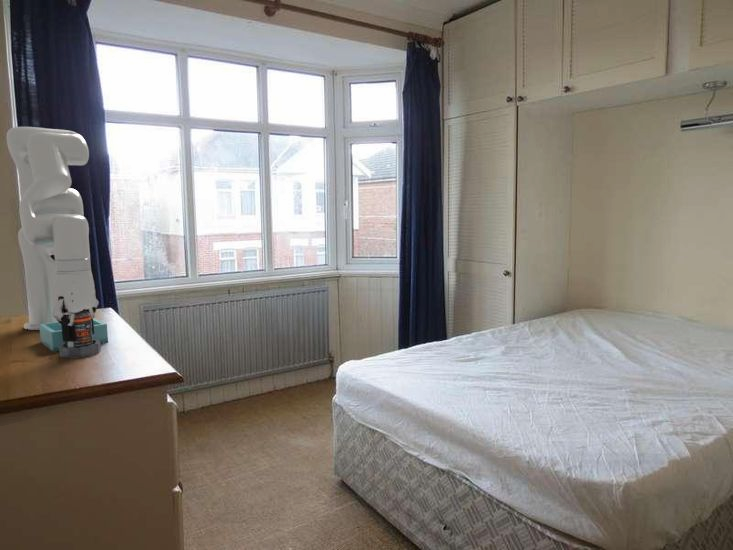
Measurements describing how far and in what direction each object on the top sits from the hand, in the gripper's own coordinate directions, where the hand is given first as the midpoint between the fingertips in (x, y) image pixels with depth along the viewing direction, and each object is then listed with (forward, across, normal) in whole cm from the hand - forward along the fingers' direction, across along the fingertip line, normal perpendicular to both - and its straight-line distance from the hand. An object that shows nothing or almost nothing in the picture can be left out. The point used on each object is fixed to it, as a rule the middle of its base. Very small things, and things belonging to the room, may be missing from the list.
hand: (78, 336), depth 127 cm
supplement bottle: (+3, 0, 0) cm, 3 cm away
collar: (+4, 0, 0) cm, 4 cm away
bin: (+4, -9, -9) cm, 13 cm away
